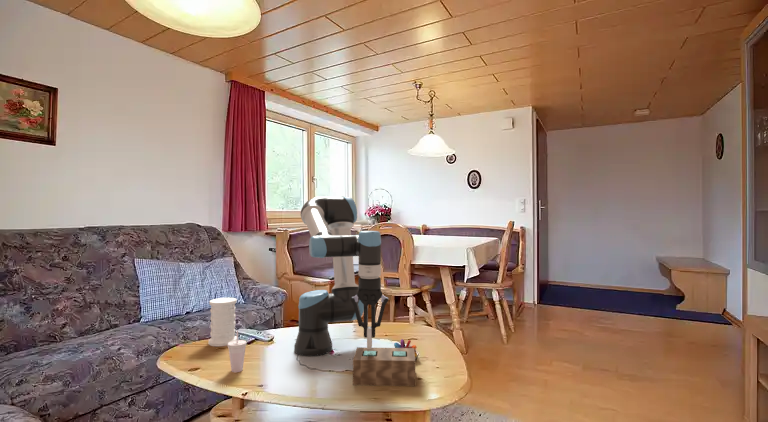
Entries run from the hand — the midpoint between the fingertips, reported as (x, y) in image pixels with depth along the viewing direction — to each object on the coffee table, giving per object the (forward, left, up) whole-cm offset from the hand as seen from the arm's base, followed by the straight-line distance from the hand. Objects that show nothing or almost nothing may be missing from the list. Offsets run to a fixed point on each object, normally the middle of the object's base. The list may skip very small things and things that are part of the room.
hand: (369, 346), depth 132 cm
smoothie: (-39, -27, -10) cm, 48 cm away
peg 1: (0, 0, -10) cm, 10 cm away
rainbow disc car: (-2, +21, -11) cm, 24 cm away
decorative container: (-73, -16, -10) cm, 75 cm away
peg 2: (+8, +6, -10) cm, 14 cm away
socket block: (+4, +3, -10) cm, 11 cm away
